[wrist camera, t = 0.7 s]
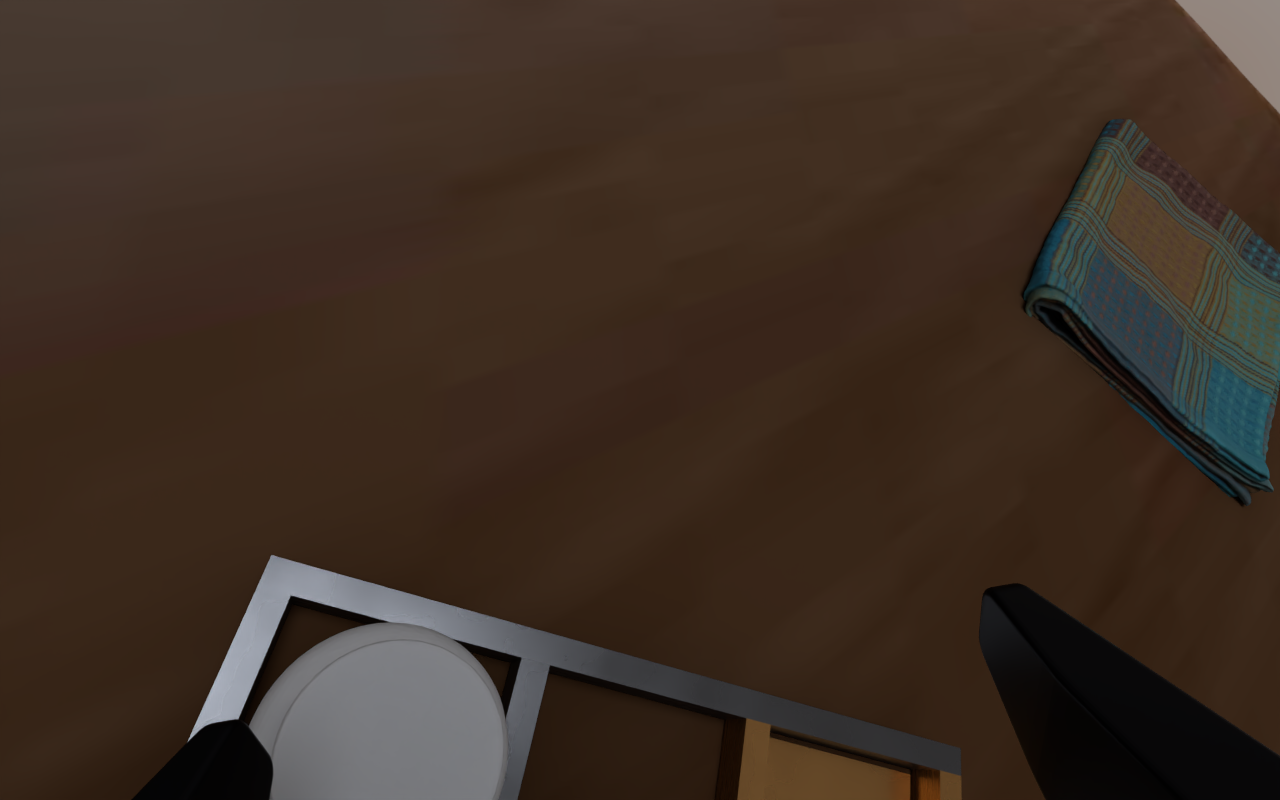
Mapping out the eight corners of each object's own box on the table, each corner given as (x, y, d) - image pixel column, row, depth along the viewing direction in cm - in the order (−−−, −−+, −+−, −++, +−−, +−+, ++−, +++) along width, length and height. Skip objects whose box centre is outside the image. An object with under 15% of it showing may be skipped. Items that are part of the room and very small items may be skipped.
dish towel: (1002, 308, 41) (1039, 284, 39) (1096, 124, 54) (1128, 98, 52) (1232, 513, 42) (1282, 500, 39) (1272, 282, 54) (1312, 262, 52)
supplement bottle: (478, 671, 23) (565, 627, 15) (435, 874, 21) (512, 952, 13) (296, 640, 22) (285, 572, 14) (227, 853, 19) (162, 927, 11)
